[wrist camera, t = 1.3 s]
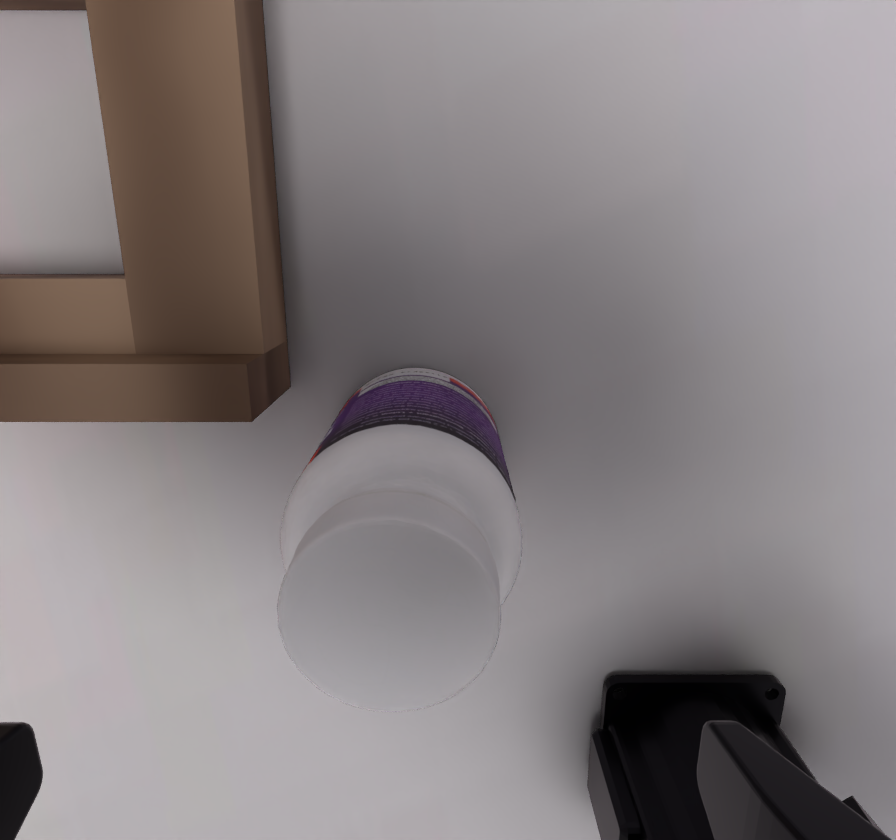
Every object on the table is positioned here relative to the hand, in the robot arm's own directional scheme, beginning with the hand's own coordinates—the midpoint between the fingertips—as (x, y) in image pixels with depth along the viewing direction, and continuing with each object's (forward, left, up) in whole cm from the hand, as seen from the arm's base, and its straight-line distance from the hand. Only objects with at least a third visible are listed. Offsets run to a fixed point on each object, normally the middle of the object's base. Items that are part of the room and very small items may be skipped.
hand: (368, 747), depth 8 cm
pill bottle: (0, 0, -13) cm, 13 cm away
